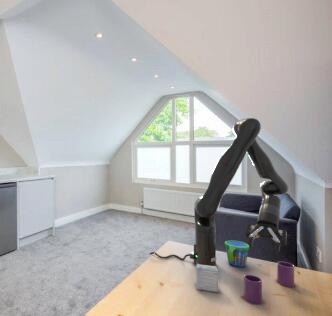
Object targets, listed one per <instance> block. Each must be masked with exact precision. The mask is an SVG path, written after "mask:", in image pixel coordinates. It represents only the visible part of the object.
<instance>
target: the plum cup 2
mask: <svg viewBox="0 0 332 316" xmlns="http://www.w3.org/2000/svg"><path fill="white" fill-rule="evenodd" d="M276 278H277V279H276V280H277V283H278V284H279V285H281V286H284V287H288V288H293V287H295V265H294V264H293V263H290V262H288V261H277V263H276Z"/></svg>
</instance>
